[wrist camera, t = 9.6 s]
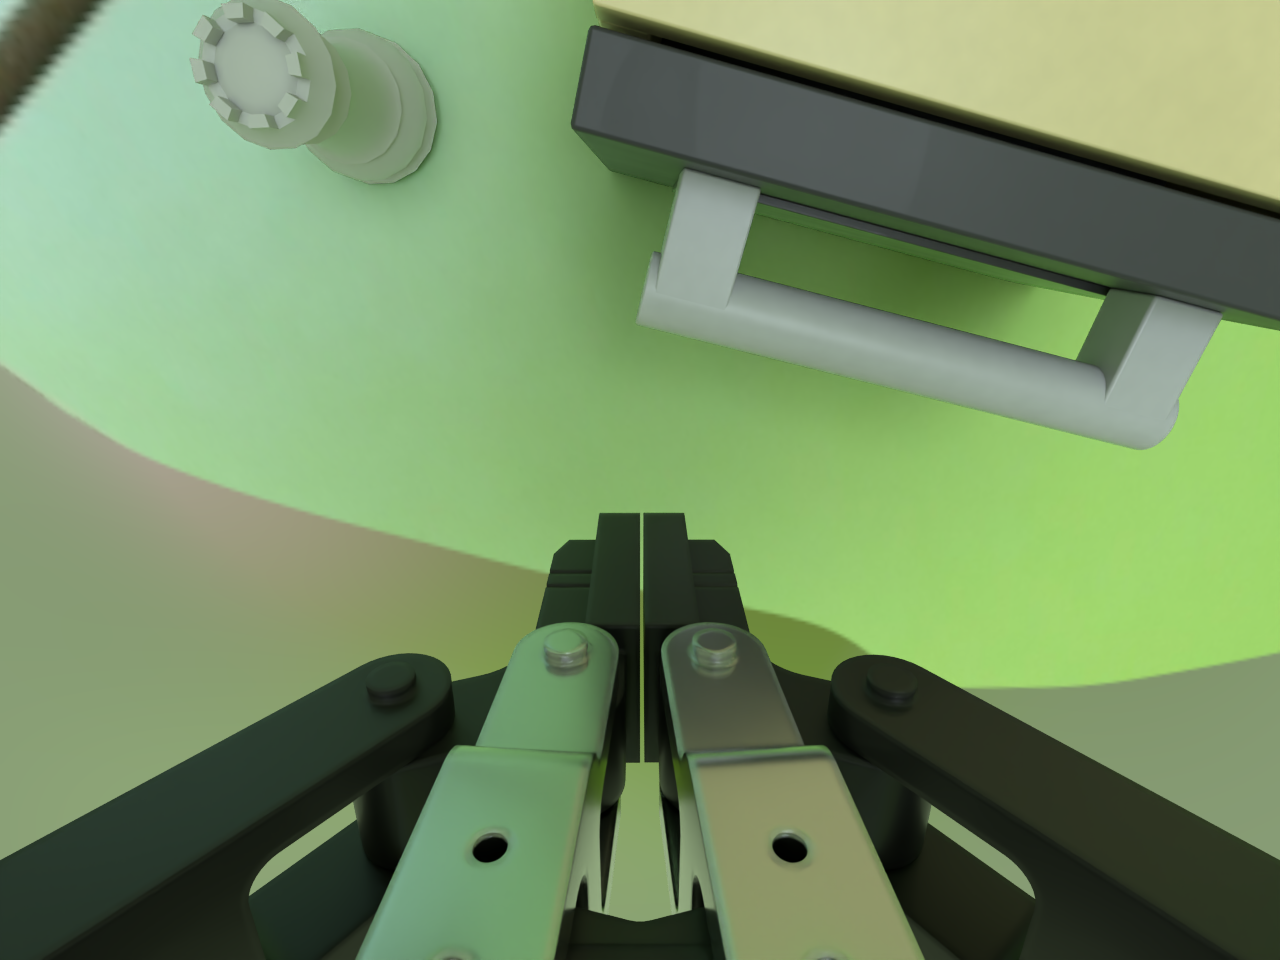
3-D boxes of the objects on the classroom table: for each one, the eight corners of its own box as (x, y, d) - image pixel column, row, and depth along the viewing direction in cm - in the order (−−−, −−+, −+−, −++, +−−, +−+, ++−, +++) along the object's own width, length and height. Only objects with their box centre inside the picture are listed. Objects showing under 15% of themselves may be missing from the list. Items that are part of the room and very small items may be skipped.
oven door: (1002, 373, 26) (1297, 508, 14) (587, 267, 25) (533, 319, 13) (1061, 240, 24) (1453, 267, 13) (618, 119, 23) (588, 22, 11)
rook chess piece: (373, 212, 24) (253, 213, 17) (279, 97, 23) (103, 43, 16) (468, 128, 23) (385, 90, 16) (375, 2, 22) (237, -103, 15)
